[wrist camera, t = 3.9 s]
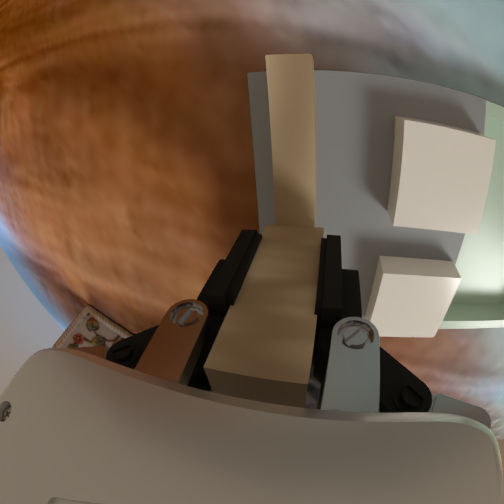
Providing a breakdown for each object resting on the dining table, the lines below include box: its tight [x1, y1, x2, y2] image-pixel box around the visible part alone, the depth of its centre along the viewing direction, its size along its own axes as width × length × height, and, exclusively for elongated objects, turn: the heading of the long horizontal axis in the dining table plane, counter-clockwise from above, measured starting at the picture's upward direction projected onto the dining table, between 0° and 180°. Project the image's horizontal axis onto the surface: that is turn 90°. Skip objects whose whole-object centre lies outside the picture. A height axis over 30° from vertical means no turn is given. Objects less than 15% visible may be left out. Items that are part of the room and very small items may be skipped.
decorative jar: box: [52, 305, 133, 349], centre depth 25 cm, size 12×12×18 cm
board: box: [247, 70, 486, 337], centre depth 14 cm, size 11×15×3 cm
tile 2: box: [365, 256, 461, 337], centre depth 13 cm, size 4×4×2 cm
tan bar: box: [204, 54, 324, 408], centre depth 10 cm, size 2×16×9 cm, turn 4°
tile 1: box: [387, 116, 496, 235], centre depth 9 cm, size 4×4×2 cm
